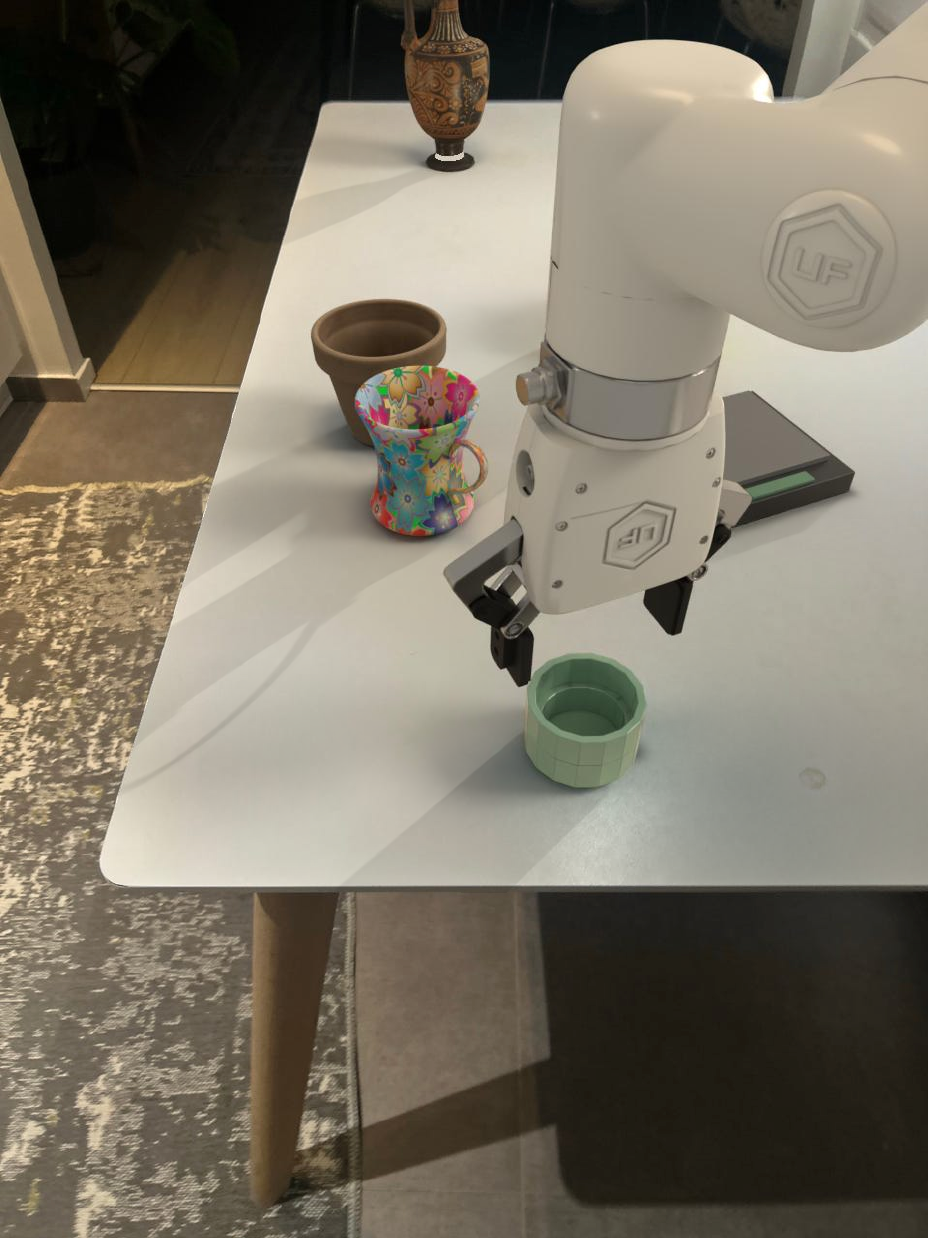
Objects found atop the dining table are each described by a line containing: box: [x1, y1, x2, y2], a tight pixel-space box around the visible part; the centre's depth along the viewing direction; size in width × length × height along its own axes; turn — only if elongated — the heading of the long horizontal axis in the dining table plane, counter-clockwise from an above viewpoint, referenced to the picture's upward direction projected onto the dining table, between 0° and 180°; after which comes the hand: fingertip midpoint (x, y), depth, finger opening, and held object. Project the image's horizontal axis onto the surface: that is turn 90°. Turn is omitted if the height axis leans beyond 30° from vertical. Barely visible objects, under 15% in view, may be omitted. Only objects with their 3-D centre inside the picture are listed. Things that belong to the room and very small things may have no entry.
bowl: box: [523, 652, 648, 788], centre depth 56 cm, size 7×7×5 cm
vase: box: [400, 0, 491, 172], centre depth 123 cm, size 12×12×30 cm
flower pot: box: [310, 298, 448, 447], centre depth 81 cm, size 12×11×10 cm
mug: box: [355, 366, 489, 537], centre depth 71 cm, size 12×9×11 cm
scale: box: [721, 390, 856, 529], centre depth 79 cm, size 14×14×3 cm
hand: (588, 643), depth 52 cm, fingers open, 9 cm apart
